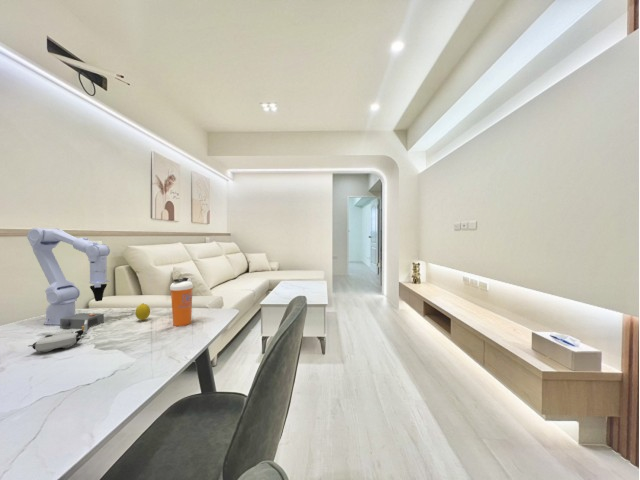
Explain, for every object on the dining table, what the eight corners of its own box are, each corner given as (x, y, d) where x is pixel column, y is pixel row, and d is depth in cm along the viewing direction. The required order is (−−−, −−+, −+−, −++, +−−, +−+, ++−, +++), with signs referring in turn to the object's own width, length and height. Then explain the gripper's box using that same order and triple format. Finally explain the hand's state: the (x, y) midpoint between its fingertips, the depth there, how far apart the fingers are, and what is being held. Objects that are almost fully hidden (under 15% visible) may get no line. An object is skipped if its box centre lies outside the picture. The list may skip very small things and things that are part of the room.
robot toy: (43, 345, 91) (26, 358, 79) (43, 332, 92) (26, 344, 79) (88, 337, 98) (79, 348, 86) (88, 325, 99) (79, 334, 86)
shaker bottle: (165, 325, 108) (164, 279, 107) (182, 319, 116) (181, 276, 116) (182, 328, 105) (181, 280, 105) (198, 321, 114) (197, 277, 113)
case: (57, 329, 105) (57, 318, 105) (80, 321, 114) (80, 311, 114) (83, 329, 104) (82, 318, 104) (103, 322, 113) (103, 312, 113)
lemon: (137, 319, 116) (136, 302, 116) (151, 318, 119) (151, 301, 118) (134, 323, 111) (133, 305, 111) (149, 321, 114) (148, 304, 113)
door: (88, 328, 105) (88, 319, 105) (87, 333, 99) (86, 324, 99) (83, 328, 104) (83, 319, 104) (82, 334, 98) (81, 324, 98)
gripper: (109, 271, 110) (109, 302, 110) (110, 268, 121) (110, 296, 121) (87, 273, 106) (88, 305, 106) (90, 270, 117) (91, 298, 117)
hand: (98, 300), depth 113 cm, fingers closed
